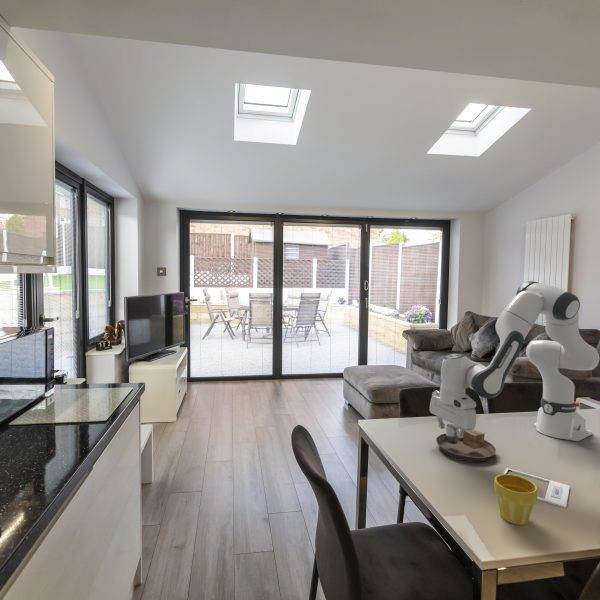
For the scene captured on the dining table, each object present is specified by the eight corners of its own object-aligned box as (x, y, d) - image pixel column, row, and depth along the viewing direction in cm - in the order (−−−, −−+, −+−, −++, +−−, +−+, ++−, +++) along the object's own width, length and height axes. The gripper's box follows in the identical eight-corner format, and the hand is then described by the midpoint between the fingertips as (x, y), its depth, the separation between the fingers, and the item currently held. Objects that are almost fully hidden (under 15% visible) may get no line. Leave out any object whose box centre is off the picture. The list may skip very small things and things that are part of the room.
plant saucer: (505, 467, 140) (506, 457, 139) (445, 463, 141) (445, 454, 140) (482, 442, 160) (482, 434, 160) (429, 439, 161) (429, 431, 161)
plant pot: (484, 508, 113) (486, 475, 113) (515, 504, 116) (517, 471, 115) (511, 531, 103) (513, 495, 102) (544, 527, 105) (547, 491, 105)
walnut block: (472, 441, 152) (473, 428, 152) (483, 446, 148) (484, 433, 147) (463, 443, 150) (463, 430, 150) (474, 449, 146) (474, 435, 145)
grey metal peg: (452, 438, 155) (453, 423, 154) (460, 443, 151) (461, 427, 150) (443, 440, 153) (444, 424, 153) (451, 444, 149) (452, 428, 148)
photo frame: (566, 506, 114) (497, 484, 125) (565, 509, 114) (496, 488, 125) (569, 485, 126) (506, 467, 137) (569, 488, 126) (506, 470, 137)
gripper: (426, 389, 159) (425, 423, 160) (466, 406, 141) (464, 444, 142) (439, 388, 162) (437, 421, 163) (479, 404, 143) (477, 441, 144)
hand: (450, 432), depth 152 cm, fingers open, 8 cm apart
